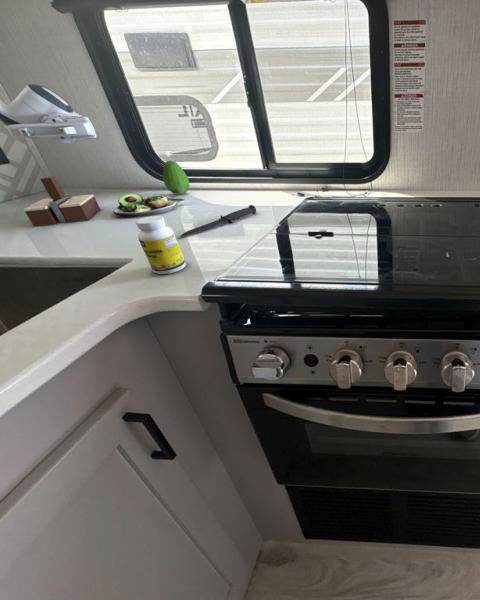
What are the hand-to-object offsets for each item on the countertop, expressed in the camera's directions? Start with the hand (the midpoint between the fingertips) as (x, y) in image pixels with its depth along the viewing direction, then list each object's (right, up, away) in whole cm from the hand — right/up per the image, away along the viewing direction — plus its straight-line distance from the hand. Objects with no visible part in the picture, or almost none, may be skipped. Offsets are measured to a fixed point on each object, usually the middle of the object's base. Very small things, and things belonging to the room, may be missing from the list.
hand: (43, 132), depth 100 cm
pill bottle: (+59, -45, -28) cm, 79 cm away
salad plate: (+25, -21, +9) cm, 34 cm away
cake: (+5, -25, +3) cm, 26 cm away
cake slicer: (+5, -25, +3) cm, 26 cm away
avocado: (+25, -11, +26) cm, 38 cm away
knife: (+57, -29, -4) cm, 64 cm away
